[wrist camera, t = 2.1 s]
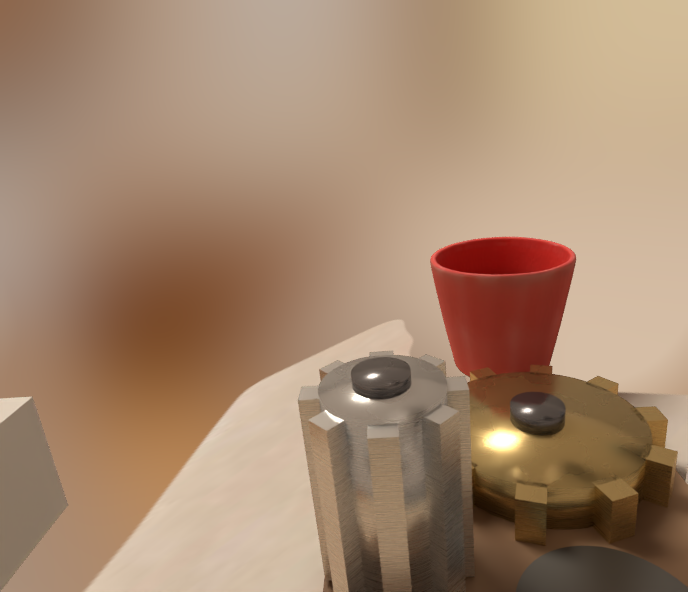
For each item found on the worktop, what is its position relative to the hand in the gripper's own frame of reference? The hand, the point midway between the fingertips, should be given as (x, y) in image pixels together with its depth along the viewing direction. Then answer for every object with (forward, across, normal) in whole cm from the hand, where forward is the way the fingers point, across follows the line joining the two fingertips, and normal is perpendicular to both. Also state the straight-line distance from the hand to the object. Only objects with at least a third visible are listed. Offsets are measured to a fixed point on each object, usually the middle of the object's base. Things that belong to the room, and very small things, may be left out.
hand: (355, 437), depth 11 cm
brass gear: (+18, +9, -14) cm, 25 cm away
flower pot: (+32, +10, -15) cm, 37 cm away
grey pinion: (+10, 0, -14) cm, 17 cm away
